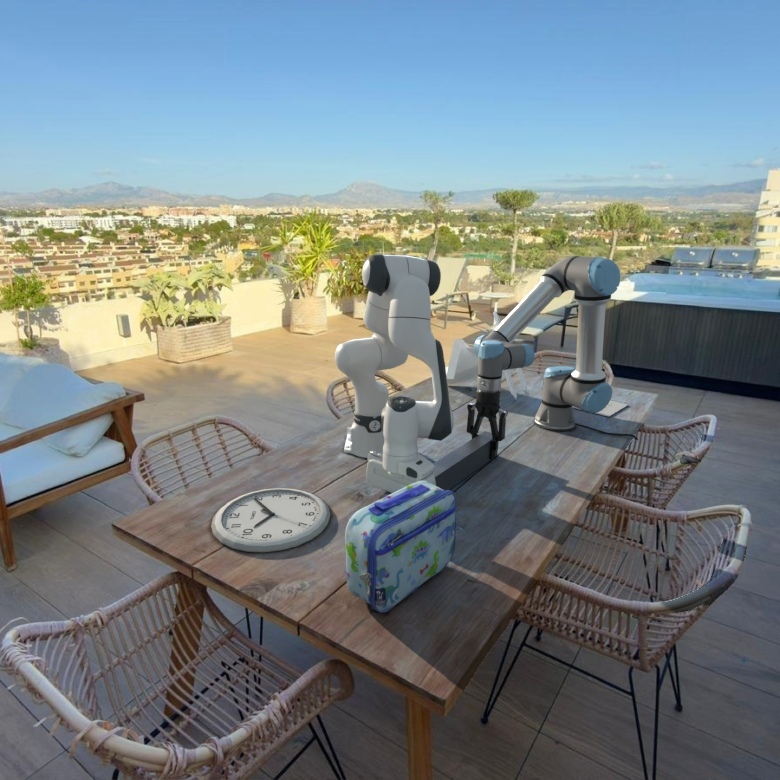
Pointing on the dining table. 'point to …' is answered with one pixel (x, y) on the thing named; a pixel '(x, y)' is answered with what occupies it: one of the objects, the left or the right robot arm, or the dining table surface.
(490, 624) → the dining table surface
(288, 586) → the dining table surface
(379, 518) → the lunch box
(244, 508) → the wall clock
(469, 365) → the white plastic object
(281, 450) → the dining table surface
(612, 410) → the invitation card
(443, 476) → the post
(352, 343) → the left robot arm
